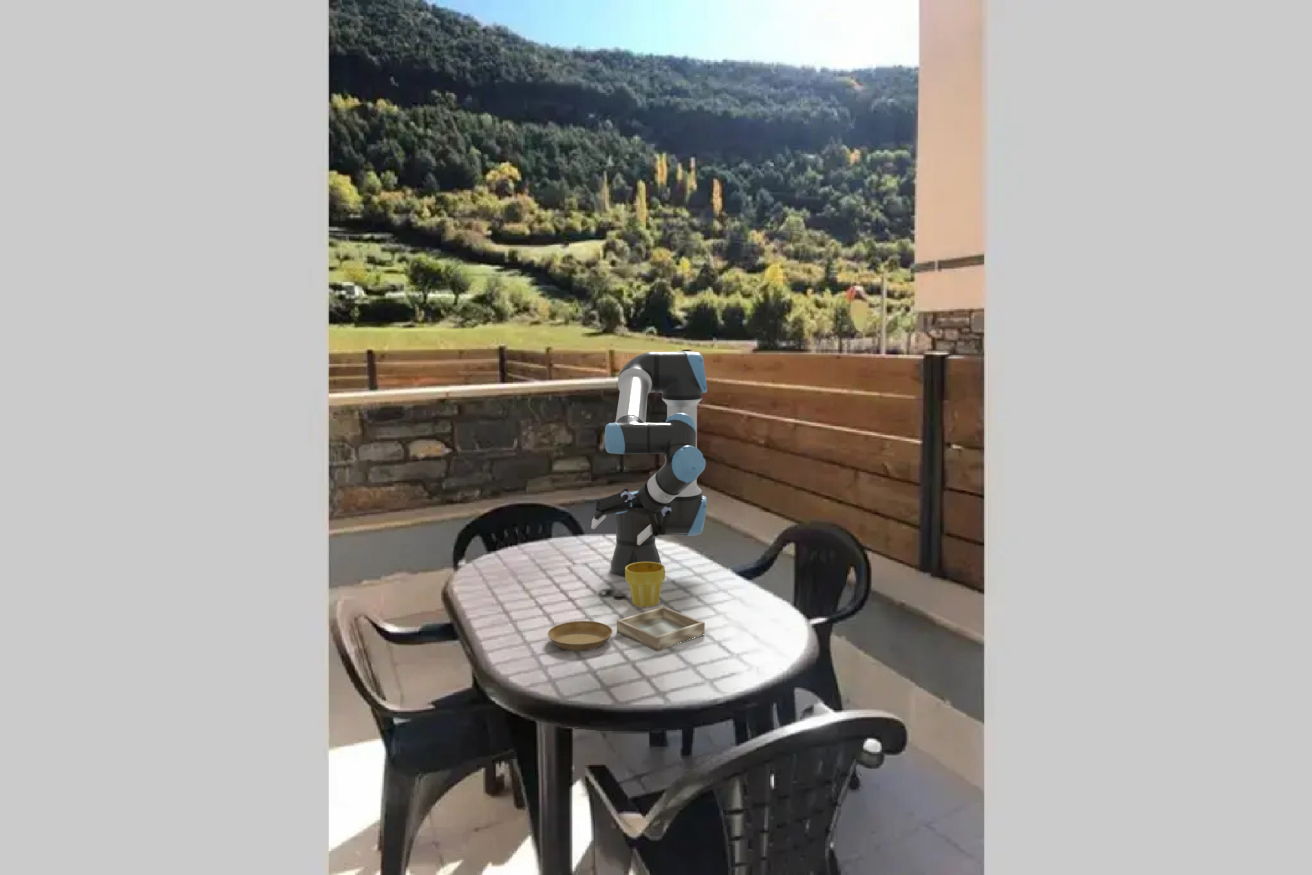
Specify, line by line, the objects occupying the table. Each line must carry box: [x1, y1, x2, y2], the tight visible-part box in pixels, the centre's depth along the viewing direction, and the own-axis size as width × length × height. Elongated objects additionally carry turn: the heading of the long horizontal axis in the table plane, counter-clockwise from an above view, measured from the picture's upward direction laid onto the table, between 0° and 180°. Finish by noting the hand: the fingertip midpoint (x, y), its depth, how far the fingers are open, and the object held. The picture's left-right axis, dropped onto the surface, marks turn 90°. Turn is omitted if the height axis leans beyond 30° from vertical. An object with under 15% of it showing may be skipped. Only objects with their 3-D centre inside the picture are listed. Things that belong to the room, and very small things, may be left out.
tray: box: [616, 606, 706, 652], centre depth 187 cm, size 15×15×3 cm
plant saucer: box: [547, 620, 614, 652], centre depth 183 cm, size 15×15×3 cm
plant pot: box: [624, 562, 666, 608], centre depth 208 cm, size 10×10×10 cm
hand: (615, 532), depth 208 cm, fingers open, 13 cm apart
